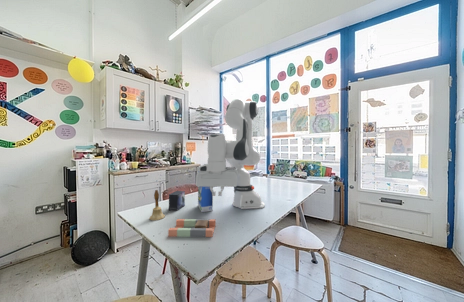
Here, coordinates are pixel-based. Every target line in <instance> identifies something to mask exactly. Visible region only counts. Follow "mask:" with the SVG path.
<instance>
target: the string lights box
mask: <svg viewBox="0 0 464 302" xmlns="http://www.w3.org/2000/svg"><path fill="white" fill-rule="evenodd" d="M198 172H199V171H198V170H197V173H198ZM197 200H198V201H197V206H198V208H199V210H200V212H201V213H206V212H213V209H214V208H213V204H214V203H213V201H214V199H213V196H212V192H211V190H210V187H197Z"/></svg>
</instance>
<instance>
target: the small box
mask: <svg viewBox="0 0 464 302" xmlns="http://www.w3.org/2000/svg"><path fill="white" fill-rule="evenodd" d="M185 194H186V191H184V190H175V191H173V192H171V193H169V194H168V211H175V212H177V211H180V210H181V209H182V208H184V207H185V204H186V203H185V200H186V199H185V198H186V196H185Z"/></svg>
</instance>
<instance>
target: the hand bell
mask: <svg viewBox="0 0 464 302" xmlns="http://www.w3.org/2000/svg"><path fill="white" fill-rule="evenodd" d="M153 196H154V197H153V199H154V201H155V203H154V205H155V206H154V207H153V208H152V213H151V215H150V217H149V218H148V219H149V220H150V221H153V222H155V221H160V220H163V219H164V218H165V217H166V215H165V214H164V213H163V211H162V207H160V206H159V198H160V193H159V191H158V189H156V190H154V194H153Z"/></svg>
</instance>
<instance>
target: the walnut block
mask: <svg viewBox="0 0 464 302" xmlns="http://www.w3.org/2000/svg"><path fill="white" fill-rule="evenodd" d="M194 228H209V227H208V220H198V221H197V223H196V224H195V227H194Z"/></svg>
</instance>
